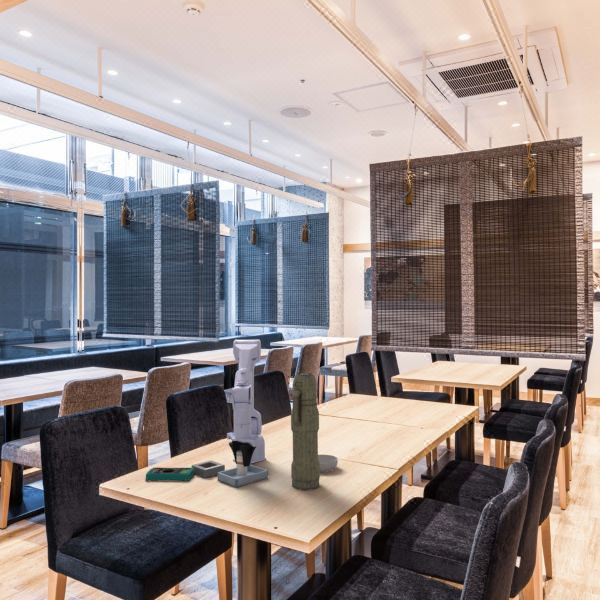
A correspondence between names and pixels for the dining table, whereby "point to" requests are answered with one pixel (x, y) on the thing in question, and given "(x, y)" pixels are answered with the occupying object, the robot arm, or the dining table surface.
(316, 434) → the thermos
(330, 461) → the small pan
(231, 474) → the parts tray
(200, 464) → the fuse block
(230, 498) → the dining table surface
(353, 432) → the dining table surface
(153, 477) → the digital multimeter
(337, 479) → the dining table surface
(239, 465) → the cylinder
